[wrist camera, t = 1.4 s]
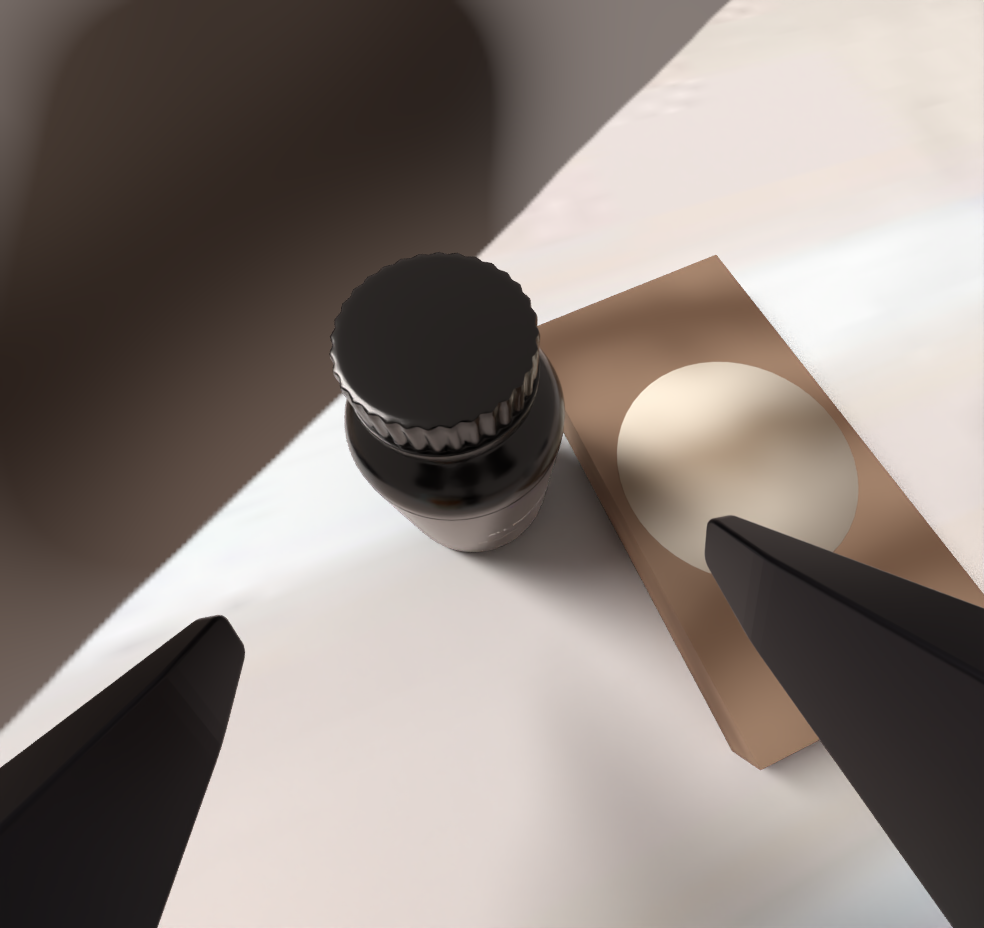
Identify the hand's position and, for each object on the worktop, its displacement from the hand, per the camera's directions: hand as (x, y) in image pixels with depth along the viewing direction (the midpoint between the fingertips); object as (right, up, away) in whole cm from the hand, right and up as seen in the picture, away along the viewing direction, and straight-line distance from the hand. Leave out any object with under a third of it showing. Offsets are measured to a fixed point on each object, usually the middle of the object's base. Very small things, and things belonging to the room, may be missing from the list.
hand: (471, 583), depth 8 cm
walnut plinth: (+11, +2, +12) cm, 17 cm away
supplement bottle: (0, +1, +13) cm, 13 cm away
